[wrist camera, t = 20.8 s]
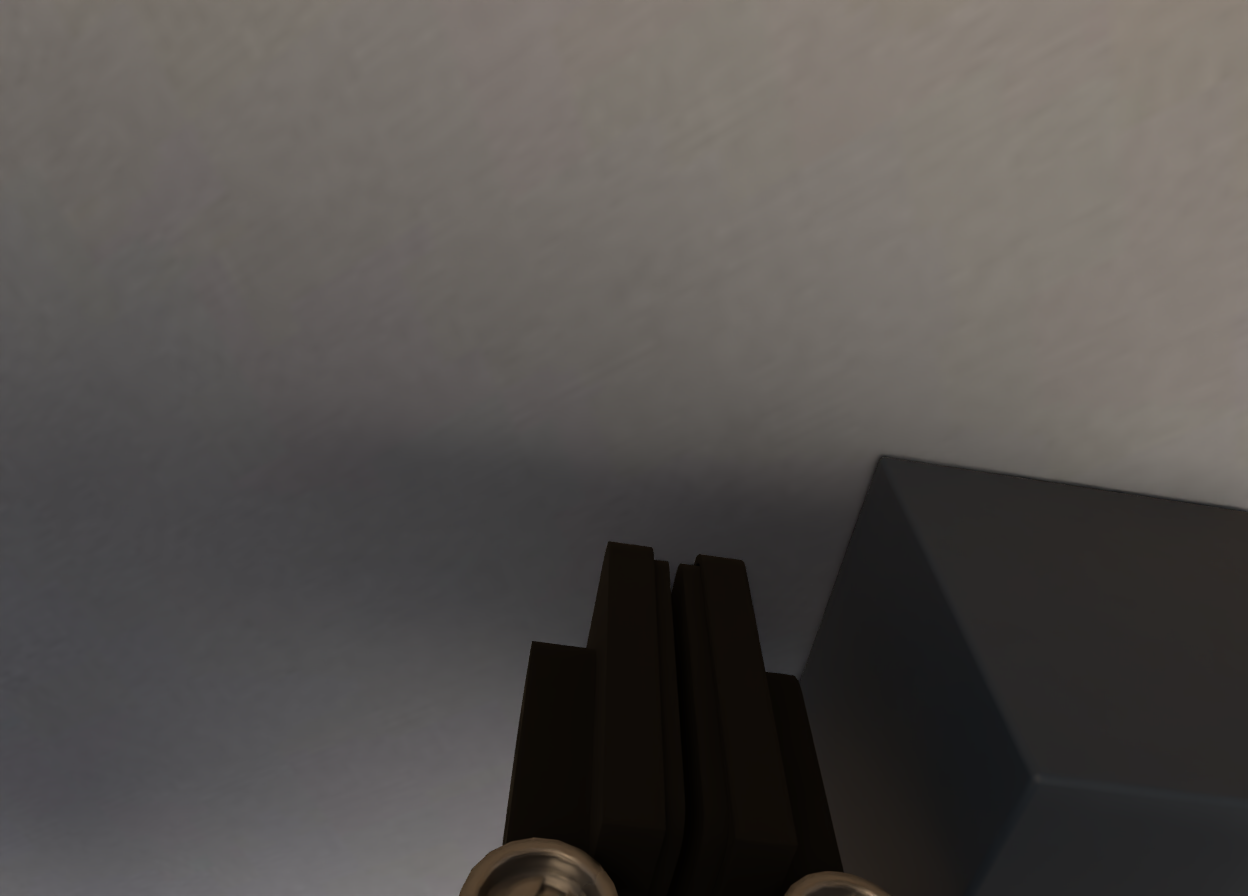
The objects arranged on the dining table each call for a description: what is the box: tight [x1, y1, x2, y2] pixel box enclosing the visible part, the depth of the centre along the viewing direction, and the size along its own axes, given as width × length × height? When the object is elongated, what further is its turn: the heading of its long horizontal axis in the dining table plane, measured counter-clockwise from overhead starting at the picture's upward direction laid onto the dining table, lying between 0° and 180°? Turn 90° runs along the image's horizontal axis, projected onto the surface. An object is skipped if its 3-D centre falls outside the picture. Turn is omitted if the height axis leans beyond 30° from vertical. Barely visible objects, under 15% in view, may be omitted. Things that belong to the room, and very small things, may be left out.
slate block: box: [799, 457, 1248, 896], centre depth 11 cm, size 5×5×5 cm
